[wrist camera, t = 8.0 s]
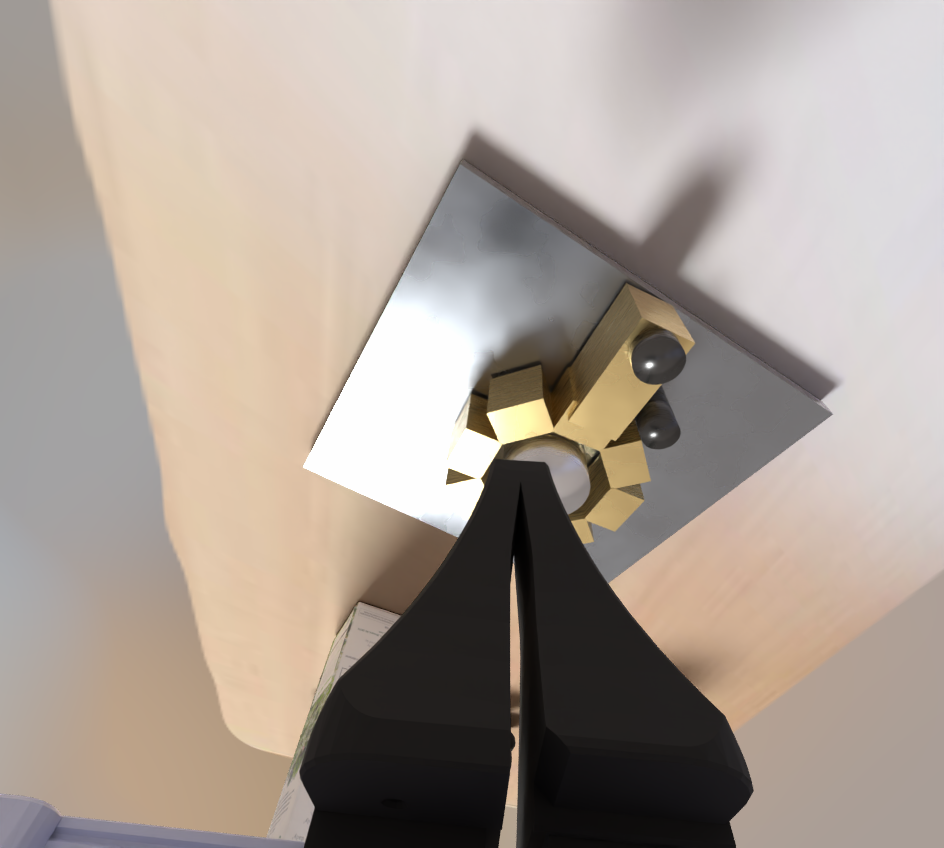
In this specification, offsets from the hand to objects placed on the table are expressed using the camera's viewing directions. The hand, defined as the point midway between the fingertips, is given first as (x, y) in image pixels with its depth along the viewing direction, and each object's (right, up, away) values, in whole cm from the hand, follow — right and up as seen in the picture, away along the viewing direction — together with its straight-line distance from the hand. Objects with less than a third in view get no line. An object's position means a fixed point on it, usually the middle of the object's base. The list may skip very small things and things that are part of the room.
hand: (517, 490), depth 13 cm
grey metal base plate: (+2, +1, +11) cm, 11 cm away
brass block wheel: (+3, +2, +9) cm, 10 cm away
